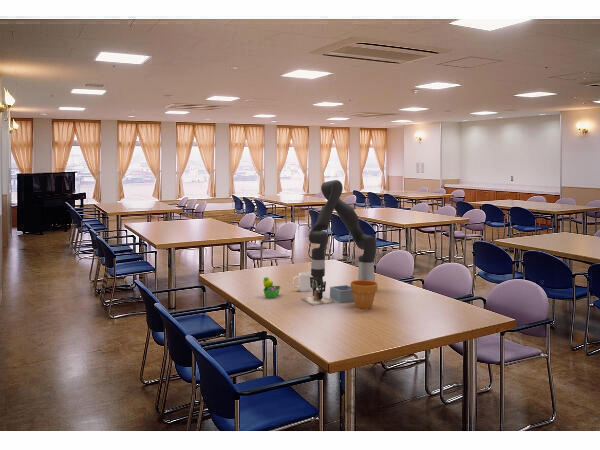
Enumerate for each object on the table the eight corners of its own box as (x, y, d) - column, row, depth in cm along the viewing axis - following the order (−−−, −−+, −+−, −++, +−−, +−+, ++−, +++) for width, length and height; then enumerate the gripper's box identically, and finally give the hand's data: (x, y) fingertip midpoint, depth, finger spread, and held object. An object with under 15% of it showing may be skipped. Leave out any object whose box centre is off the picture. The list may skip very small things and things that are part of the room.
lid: (321, 297, 299) (321, 287, 299) (333, 302, 288) (333, 292, 287) (301, 299, 293) (301, 289, 293) (312, 305, 282) (313, 294, 281)
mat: (322, 297, 300) (322, 296, 300) (335, 303, 288) (335, 302, 288) (300, 300, 294) (300, 299, 294) (312, 306, 281) (312, 305, 281)
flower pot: (373, 311, 273) (374, 286, 272) (347, 308, 278) (347, 284, 276) (379, 304, 286) (380, 281, 285) (353, 302, 291) (354, 279, 290)
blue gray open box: (346, 297, 303) (346, 285, 302) (357, 301, 293) (357, 289, 292) (329, 299, 297) (330, 286, 297) (340, 303, 288) (340, 291, 287)
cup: (313, 291, 314) (313, 275, 313) (293, 292, 312) (293, 275, 310) (310, 288, 322) (310, 272, 321) (291, 289, 320) (291, 272, 318)
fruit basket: (276, 299, 295) (276, 279, 294) (260, 298, 297) (260, 278, 296) (280, 294, 306) (280, 275, 305) (265, 293, 308) (266, 274, 307)
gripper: (330, 269, 284) (330, 299, 286) (317, 264, 297) (316, 294, 299) (318, 270, 281) (318, 301, 282) (305, 265, 293) (305, 295, 295)
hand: (317, 297), depth 290 cm, fingers open, 5 cm apart
